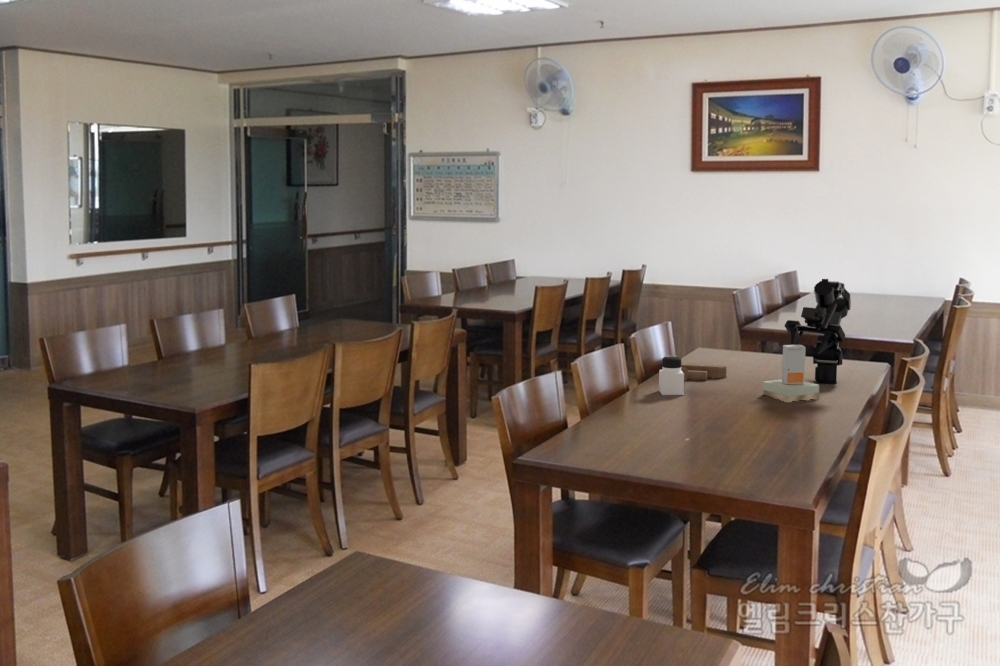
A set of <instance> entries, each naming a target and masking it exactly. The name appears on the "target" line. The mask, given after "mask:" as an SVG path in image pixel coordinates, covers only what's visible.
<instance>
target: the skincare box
mask: <svg viewBox="0 0 1000 666" xmlns="http://www.w3.org/2000/svg"><path fill="white" fill-rule="evenodd" d="M781 363H782V364H781V379H782V382H783V383H784V384H804V381H805V367H806V346H804V345H803V344H797V345H791V344H783V345H782V361H781Z"/></svg>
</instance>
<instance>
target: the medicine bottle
mask: <svg viewBox="0 0 1000 666" xmlns="http://www.w3.org/2000/svg"><path fill="white" fill-rule="evenodd" d="M681 363H682V358H681V357H680V356H677V355H667V356H666V355H665V356H664V357H662V369H659V370H658V371H659V372H658V391H659V392H660V393H661V395H662V396H684V395H685V382H684V376H685V374H684V373H683V372H682V371H681Z"/></svg>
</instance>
